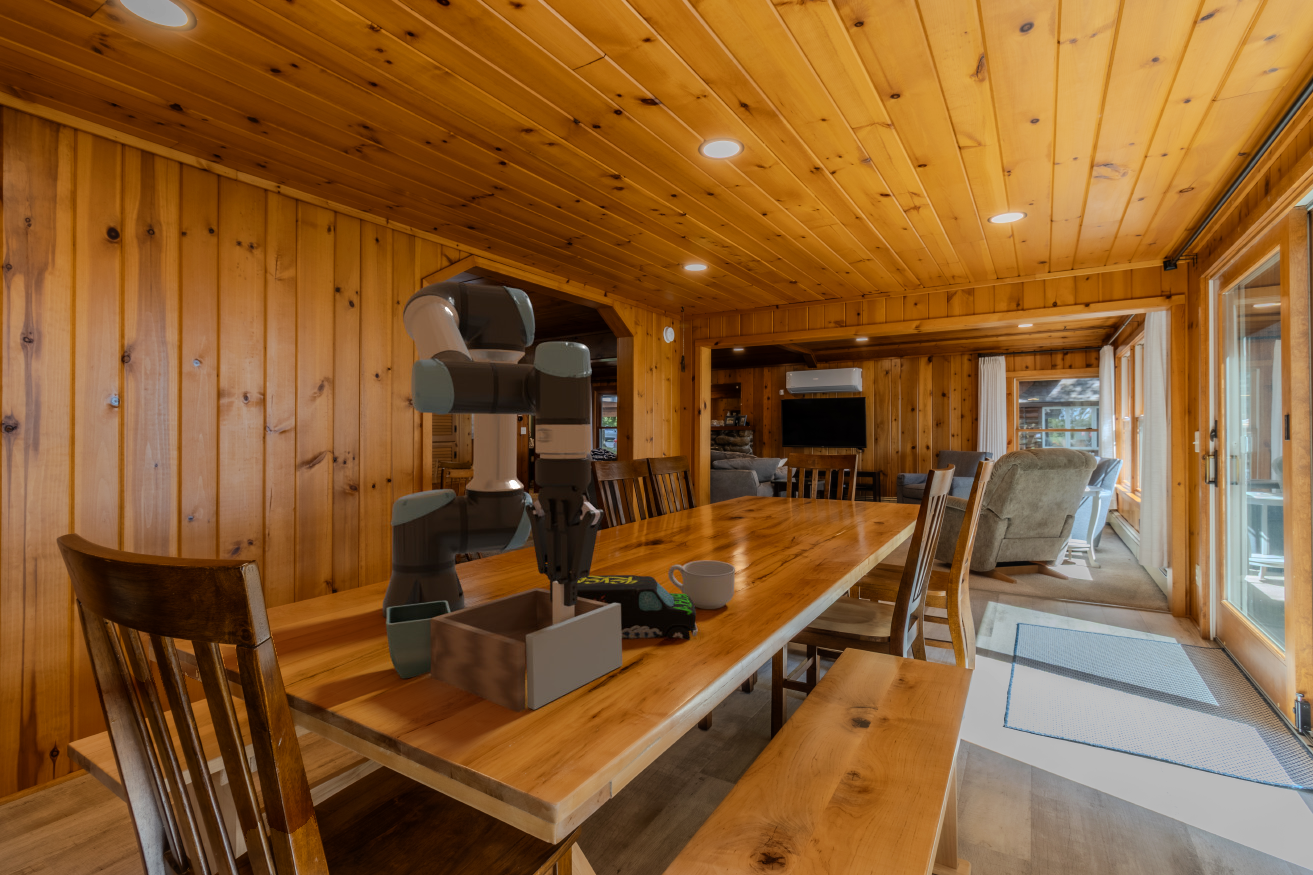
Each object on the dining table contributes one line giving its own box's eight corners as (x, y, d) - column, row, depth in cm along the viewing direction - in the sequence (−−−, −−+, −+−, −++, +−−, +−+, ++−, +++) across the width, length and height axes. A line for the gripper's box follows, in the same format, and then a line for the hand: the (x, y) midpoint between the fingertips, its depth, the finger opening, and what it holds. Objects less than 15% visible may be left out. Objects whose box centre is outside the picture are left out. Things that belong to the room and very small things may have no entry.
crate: (430, 685, 85) (430, 618, 85) (537, 644, 101) (537, 587, 101) (518, 722, 74) (517, 645, 74) (620, 669, 91) (621, 606, 91)
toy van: (698, 646, 101) (698, 586, 101) (548, 650, 99) (548, 589, 99) (691, 625, 111) (691, 571, 111) (555, 628, 110) (554, 573, 110)
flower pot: (386, 687, 84) (385, 623, 84) (386, 664, 92) (386, 606, 92) (452, 677, 88) (452, 615, 88) (447, 656, 96) (447, 599, 96)
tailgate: (527, 707, 75) (525, 635, 76) (615, 663, 89) (614, 602, 89) (534, 709, 75) (532, 636, 75) (622, 665, 89) (620, 603, 89)
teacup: (743, 602, 125) (743, 564, 125) (720, 616, 116) (720, 575, 116) (685, 592, 133) (685, 556, 133) (658, 604, 124) (658, 565, 124)
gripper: (510, 456, 84) (510, 625, 84) (579, 458, 76) (579, 645, 77) (549, 454, 90) (550, 612, 90) (617, 456, 82) (617, 629, 83)
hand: (563, 627), depth 83 cm, fingers closed
